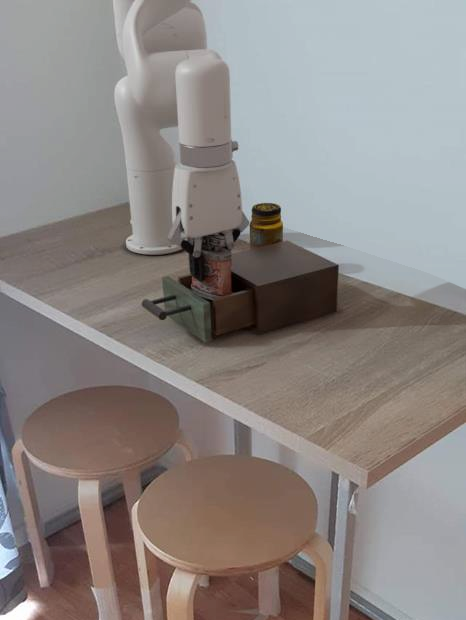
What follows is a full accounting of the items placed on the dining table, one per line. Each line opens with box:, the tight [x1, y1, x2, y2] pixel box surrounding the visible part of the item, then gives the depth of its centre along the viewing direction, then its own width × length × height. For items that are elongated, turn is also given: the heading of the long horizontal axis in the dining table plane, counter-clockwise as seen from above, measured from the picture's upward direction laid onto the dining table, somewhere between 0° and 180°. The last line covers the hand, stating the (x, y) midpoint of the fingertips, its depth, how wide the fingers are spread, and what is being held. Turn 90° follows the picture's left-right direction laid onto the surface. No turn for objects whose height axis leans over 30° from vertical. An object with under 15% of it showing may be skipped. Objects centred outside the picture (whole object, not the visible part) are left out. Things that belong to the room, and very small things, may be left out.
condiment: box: [249, 202, 284, 250], centre depth 149 cm, size 7×8×12 cm
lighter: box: [191, 233, 233, 300], centre depth 129 cm, size 8×3×10 cm, turn 47°
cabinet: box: [231, 240, 340, 335], centre depth 137 cm, size 16×15×8 cm
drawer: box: [141, 273, 256, 343], centre depth 132 cm, size 20×13×6 cm, turn 122°
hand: (210, 274), depth 130 cm, fingers closed on lighter, 4 cm apart
